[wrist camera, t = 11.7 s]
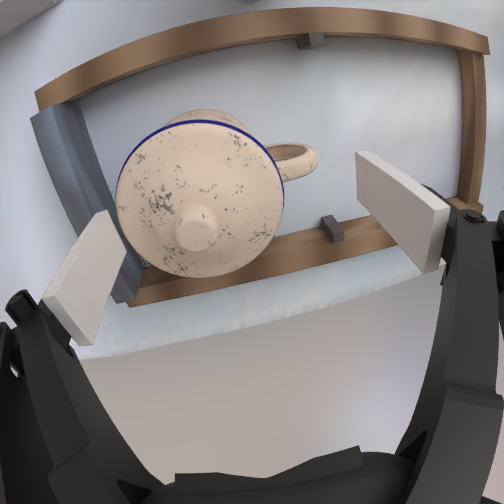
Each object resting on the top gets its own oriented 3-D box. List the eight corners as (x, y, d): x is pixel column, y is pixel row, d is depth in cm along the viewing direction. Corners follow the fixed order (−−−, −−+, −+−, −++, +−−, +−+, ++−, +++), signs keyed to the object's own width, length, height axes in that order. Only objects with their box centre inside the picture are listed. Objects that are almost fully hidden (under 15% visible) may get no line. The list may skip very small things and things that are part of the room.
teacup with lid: (170, 225, 25) (148, 326, 15) (131, 128, 19) (63, 178, 10) (303, 188, 24) (362, 270, 15) (282, 84, 19) (348, 91, 9)
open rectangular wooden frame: (467, 35, 16) (498, 38, 12) (465, 209, 27) (488, 227, 24) (53, 88, 16) (23, 94, 12) (134, 287, 28) (126, 318, 24)
